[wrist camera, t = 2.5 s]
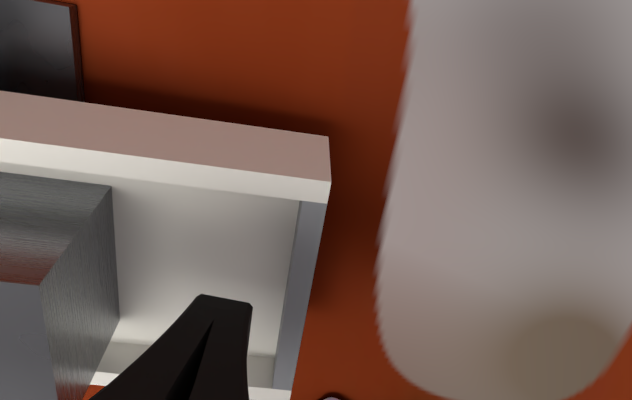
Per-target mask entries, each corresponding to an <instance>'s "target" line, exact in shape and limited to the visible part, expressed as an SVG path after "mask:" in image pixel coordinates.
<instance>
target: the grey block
mask: <svg viewBox="0 0 632 400" xmlns="http://www.w3.org/2000/svg"><path fill="white" fill-rule="evenodd" d="M119 321H120V312H119V296H118V280H117V264H116V248H115V233H114V217H113V201H112V186H109V185H101V184H94V183H86V182H78V181H70V180H62V179H54V178H46V177H39V176H31V175H23V174H15V173H7V172H0V400H83V397H84V395H85V393H86V391H87V389H88V387H89V385H90V383H91V380H92V378H93V376H94V374H95V372H96V370H97V368H98V366H99V363H100V361H101V359H102V357H103V355H104V353H105V351H106V349H107V346H108V344H109V342H110V340H111V338H112V336H113V334H114V332H115V329H116V327H117V325H118V323H119Z"/></svg>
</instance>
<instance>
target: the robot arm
mask: <svg viewBox="0 0 632 400" xmlns="http://www.w3.org/2000/svg"><path fill="white" fill-rule="evenodd" d="M252 311H253V307H252V305H251V304H250V303H248V302H242V301H237V300H232V299H227V298H221V297H216V296H211V295H205V294H200V295H198V296H197V297H196V298H195V299H194V300H193V301H192V303H191V304H190V305H189V306H188V307H187V309H186V310H185V311H184V312H183V313H182V314H181V315H180V316H179V317H178V319H177V320H176V321H175V322H174V323H173V324H172V325H171V326H170V327H169V328H168V329H167V330H166V331H165V332H164V333H163V334H162V335H161V336H160V337H159V338H158V339H157V340H156V341H155V342H154V343H153V344H152V345H151V346H150V347H149V348H148V349H147V350H146V351H145V352H144V353H143V354H142V355H141V356H140V357H139V358H137V359H136V360H135V361H134V362H133V363H132V364H131V365H130V366H128V367H127V368H126V369H125V370H124V371H123V372H122V373H121V374H119V375H118V376H117V377H116V378H115V379H114V380H113V381H111V382H110V383H109V384H108V385H106V386H105V387H104V388H103V389H102V390H100V391H99V392H98V393H97V394H95V395H94V396H93V397H91V398H90V399H89V400H249V393H248V380H247V353H248V345H249V336H250V328H251V320H252ZM324 400H339V399H337V398H333V397H330V398H326V399H324Z"/></svg>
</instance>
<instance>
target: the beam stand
mask: <svg viewBox="0 0 632 400" xmlns="http://www.w3.org/2000/svg"><path fill="white" fill-rule="evenodd" d="M0 91H7V92H14V93H22V94H29V95H36V96H43V97H50V98H57V99H64V100H71V101H79V102H85V100H84V88H83V76H82V65H81V53H80V42H79V30H78V18H77V7H76V5H74V4H69V3H63V2H58V1H52V0H0Z"/></svg>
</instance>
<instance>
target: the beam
mask: <svg viewBox="0 0 632 400" xmlns="http://www.w3.org/2000/svg"><path fill="white" fill-rule="evenodd" d="M0 172H7V173H15V174H23V175H31V176H39V177H46V178H54V179H62V180H70V181H78V182H86V183H94V184H101V185H109V186H112V201H113V217H114V233H115V248H116V264H117V280H118V296H119V312H120V321H119V323H118V325H117V327H116V329H115V332H114V334H113V336H112V338H111V340H110V342H109V344H108V346H107V349H106V351H105V353H104V355H103V357H102V359H101V361H100V363H99V366H98V368H97V370H96V372H95V374H94V376H93V378H92V380H91V383H90V384H92V385H102V386H106V385H108V384H109V383H110V382H111V381H113V380H114V379H115V378H116V377H117V376H118V375H119V374H121V373H122V372H123V371H124V370H125V369H126V368H127V367H128V366H130V365H131V364H132V363H133V362H134V361H135V360H136V359H137V358H139V357H140V356H141V355H142V354H143V353H144V352H145V351H146V350H147V349H148V348H149V347H150V346H151V345H152V344H153V343H154V342H155V341H156V340H157V339H158V338H159V337H160V336H161V335H162V334H163V333H164V332H165V331H166V330H167V329H168V328H169V327H170V326H171V325H172V324H173V323H174V322H175V321H176V320H177V319H178V317H179V316H180V315H181V314H182V313H183V312H184V311H185V310H186V309H187V307H188V306H189V305H190V304H191V303H192V301H193V300H194V299H195V298H196V297H197V296H198V295H200V294H205V295H211V296H216V297H221V298H227V299H232V300H237V301H242V302H248V303H250V304H251V305H252V307H253V311H252V320H251V328H250V336H249V345H248V353H247V380H248V393H249V400H290V396H291V390H292V385H293V380H294V375H295V370H296V364H297V359H298V354H299V349H300V344H301V338H302V333H303V328H304V323H305V317H306V312H307V307H308V302H309V297H310V291H311V286H312V281H313V276H314V271H315V265H316V260H317V255H318V250H319V244H320V239H321V234H322V229H323V224H324V218H325V213H326V208H327V203H328V198H329V192H330V187H331V168H330V153H329V138H328V136H321V135H314V134H307V133H299V132H292V131H285V130H278V129H271V128H264V127H257V126H250V125H242V124H235V123H228V122H221V121H214V120H207V119H200V118H193V117H185V116H178V115H171V114H164V113H157V112H150V111H143V110H136V109H128V108H121V107H114V106H107V105H100V104H93V103H86V102H79V101H71V100H64V99H57V98H50V97H43V96H36V95H29V94H22V93H14V92H7V91H0Z"/></svg>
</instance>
